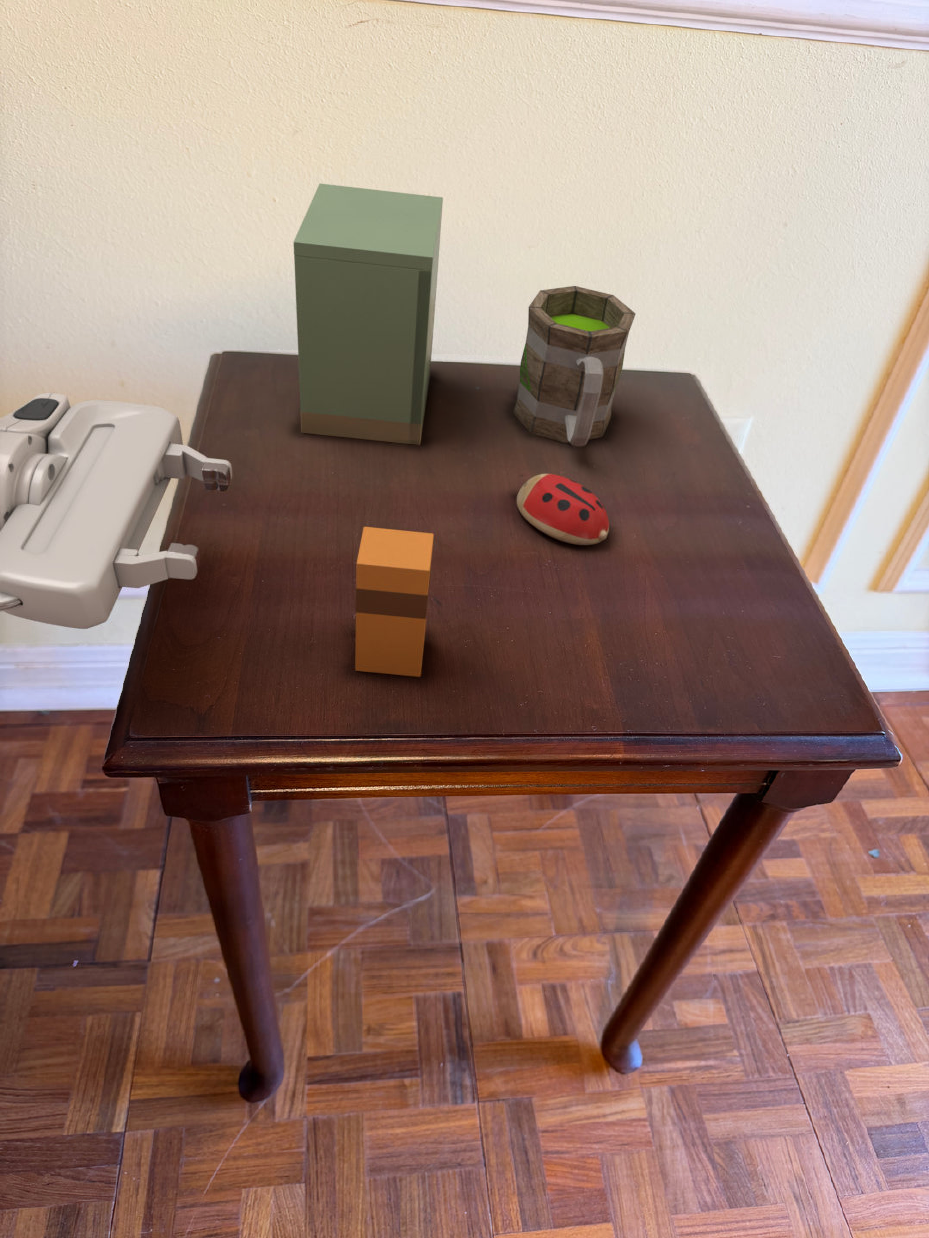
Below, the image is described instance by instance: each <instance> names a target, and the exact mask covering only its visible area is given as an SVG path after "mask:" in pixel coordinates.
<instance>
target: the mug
mask: <svg viewBox="0 0 929 1238" xmlns="http://www.w3.org/2000/svg"><path fill="white" fill-rule="evenodd" d="M635 317H636V312H634V311H633V310H632V309H631V308H630V307H628V305H626V304H625V303H624V302H623V301H621V300H620V299H619V298H618V297H616V296H615V295H614V294H610V293H607V292H602V291H598V290H593V289H589V288H587V287H586V288H585V287H581V286H578V285H569V286H564V287H563V286H561V287H556V288H548V289H541V290H539V291H538V293H537V294H536V295H535V297H534V298H533V300H532V301H531V302H530V304H529V306H528V319H527V330H526V338H525V344H524V348H523V351H522V355H521V359H520V365H519V368H520V369H519V382H518V383H519V384H518V390H517V395H516V400H515V403H514V406H513V410H512V414H513V415H514V416H515V417H516V418H517V419H518V421H519V422H520V423H521V424H522V425H523V426H524V427H525V429H526V430H527V431H528V432H529V433H530V434H532V435H536V436H538V437H542V438H547V439H551V440H554V441H558V442H560V443H561V442H562V443H565V444H567V445H569V444H571V446H574V447H584V446H586V445H587V444H588V441H589V440H593V439H594V440H595V439H598V438H603V437H604V434H605V432H606V430H607V427H608V425H609V424H610V420H611V418H612V409H613V402H614V396H615V394H616V388H617V385H618V382H619V379H620V376H621V374H622V370H623V367H624V361H625V355H626V354H625V353H626V348H627V344H628V339H629V335H630V330H631V329H632V325H633V323H634V320H635Z"/></svg>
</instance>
